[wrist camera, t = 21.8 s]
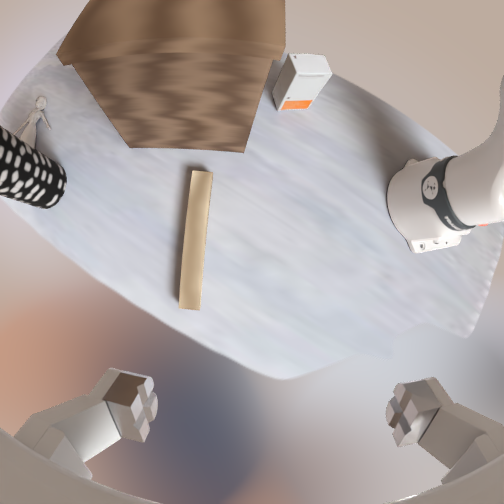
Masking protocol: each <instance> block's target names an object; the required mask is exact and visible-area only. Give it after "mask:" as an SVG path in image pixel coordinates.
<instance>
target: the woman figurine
mask: <svg viewBox="0 0 504 504" xmlns="http://www.w3.org/2000/svg"><path fill="white" fill-rule="evenodd" d="M46 104H47V101H46V98H45V97H38V98H37V100H36V107H37V109H35V110H33V111H32V112H33V113H32V112H31V113H30V114H29V116H30V117H28V119H27V120H26V121H25V122H24V123H23V124H22V125H21V126H20V128H19V129H18V130H17V131H16V132H15V133H14V134H13V135H16V134H17V132H18V131H19V130H20V129H21V128H22V127H24V126H25V125H26V124H27V123H28V122H29V124H28V125H27V127H26V128H25V129H24V131H23V133H22V135H21V136H20V138H19V139H21V140H22V141H24V142H25V143H27V144H28V145H30V146H31V147H33V148H34V149H35V139H36V126H35V124H36V122H37V121H38V120H39V118H40V117H42V119H43V121H44V122H45V123H46V125H47V127H48V128H49V129H50V130H51V128H50V127H49V125H48V123H47V120H46V118H45V117H44V115H43V114H44V112H43V111H41V110H43V109H44V108H45V107H46Z"/></svg>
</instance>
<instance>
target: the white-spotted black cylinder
mask: <svg viewBox="0 0 504 504" xmlns="http://www.w3.org/2000/svg"><path fill="white" fill-rule="evenodd" d="M66 183H67V178H66V173H65V170H64V169H63V167H61V166H60V165H59V164H57V163H56V162H54V161H53V160H51V159H49V158H48V157H46V156H45V155H43V154H42V153H40V152H39V151H37V150H36V149H34V148H33V147H31V146H30V145H28V144H27V143H25V142H24V141H22V140H21V139H19V138H18V137H16V136H15V135H13V134H12V133H10V132H9V131H7V130H6V129H4V128H3V127H2V126H0V195H1V196H4V197H7V198H11V199H14V200H17V201H20V202H23V203H26V204H29V205H32V206H36V207H39V208H42V209H48V208H51V207H53V206H54V205H56V204H57V203H58V202H59V200H60V199H61V197H62V196H63V194H64V191H65V188H66Z"/></svg>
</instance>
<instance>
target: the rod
mask: <svg viewBox="0 0 504 504" xmlns="http://www.w3.org/2000/svg"><path fill="white" fill-rule="evenodd" d="M212 180H213V172H204V171H192V177H191V184H190V192H189V200H188V208H187V216H186V225H185V235H184V245H183V256H182V267H181V280H180V295H179V308H180V309H190V310H200V307H201V292H202V279H203V267H204V255H205V244H206V234H207V224H208V215H209V205H210V197H211V188H212Z"/></svg>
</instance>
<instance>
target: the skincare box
mask: <svg viewBox="0 0 504 504" xmlns="http://www.w3.org/2000/svg"><path fill="white" fill-rule="evenodd" d="M331 76H332V71H331V69H330V67H329V64H328V62H327V60H326V57H325V55H316V54H307V53H304V54H294V53H293V54H292V53H289V54H288V56H287V58H286V61H285V63H284V65H283V68H282V70H281V72H280V75H279V77H278V80H277V82H276V84H275V87H274V89H273V92H272V94H273V98H274V101H275V105H276V108H277V111H284V110H307V109H308V108H309V107H310V105H311V104H312V103H313V101H314V100H315V98H316V97H317V95H318V94H319V93H320V91H321V90H322V88H323V87H324V85H325V84H326V83H327V81H328V80H329V78H330V77H331Z"/></svg>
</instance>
